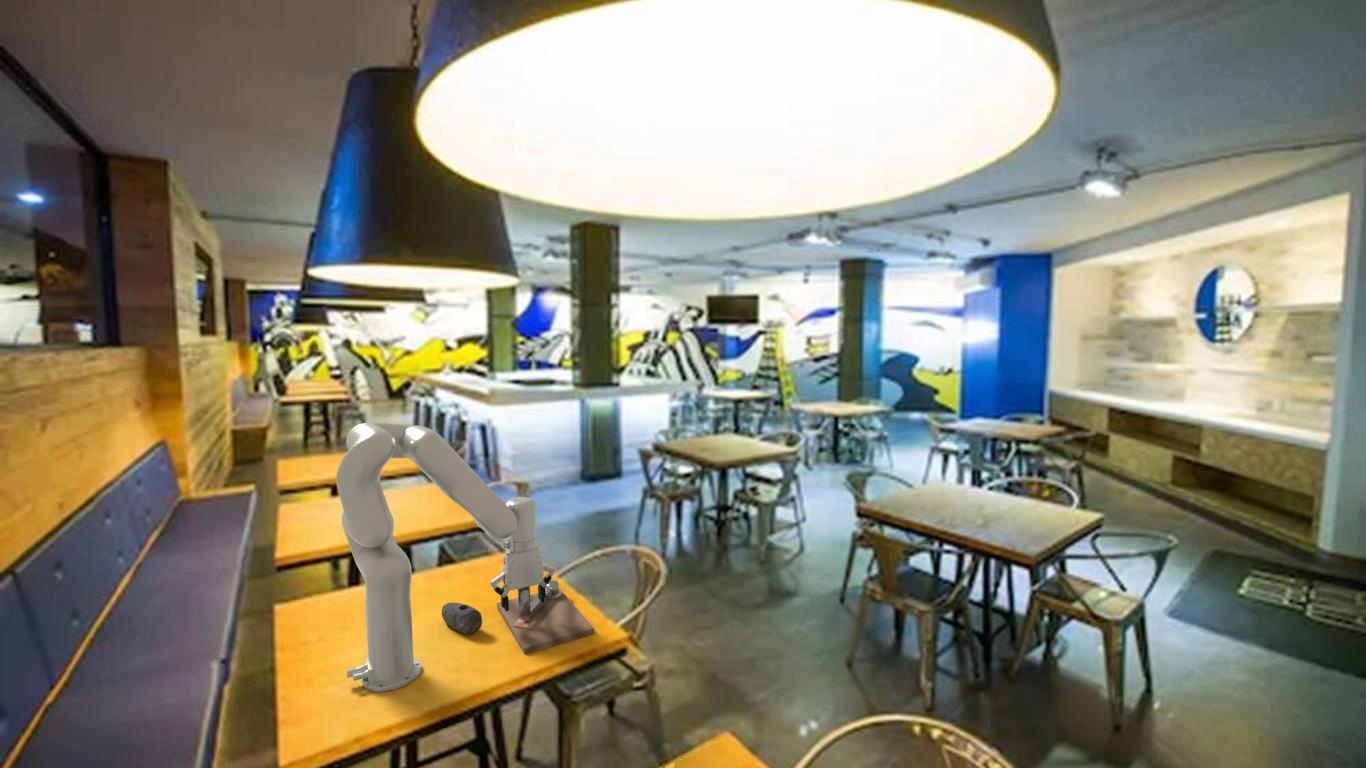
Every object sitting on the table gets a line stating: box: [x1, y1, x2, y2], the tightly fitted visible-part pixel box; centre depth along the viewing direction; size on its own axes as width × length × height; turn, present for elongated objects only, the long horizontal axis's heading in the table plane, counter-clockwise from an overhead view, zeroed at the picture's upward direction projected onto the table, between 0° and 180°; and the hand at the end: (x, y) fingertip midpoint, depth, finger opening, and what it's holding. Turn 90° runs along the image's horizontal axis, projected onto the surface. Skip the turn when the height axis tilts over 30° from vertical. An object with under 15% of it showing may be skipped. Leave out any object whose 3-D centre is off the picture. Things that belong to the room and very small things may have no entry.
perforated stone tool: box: [441, 602, 483, 634], centre depth 162 cm, size 15×5×7 cm, turn 54°
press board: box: [496, 587, 595, 655], centre depth 167 cm, size 19×28×2 cm
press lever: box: [517, 580, 560, 621], centre depth 170 cm, size 4×22×11 cm, turn 169°
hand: (523, 604), depth 161 cm, fingers open, 9 cm apart
